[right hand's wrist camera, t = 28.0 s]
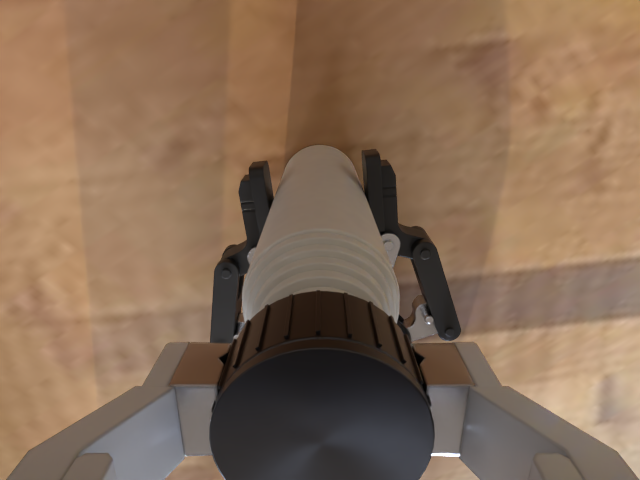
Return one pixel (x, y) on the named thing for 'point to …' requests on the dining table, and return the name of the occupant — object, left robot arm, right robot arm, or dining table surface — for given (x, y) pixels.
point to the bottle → (320, 238)
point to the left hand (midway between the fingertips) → (313, 159)
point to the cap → (321, 395)
